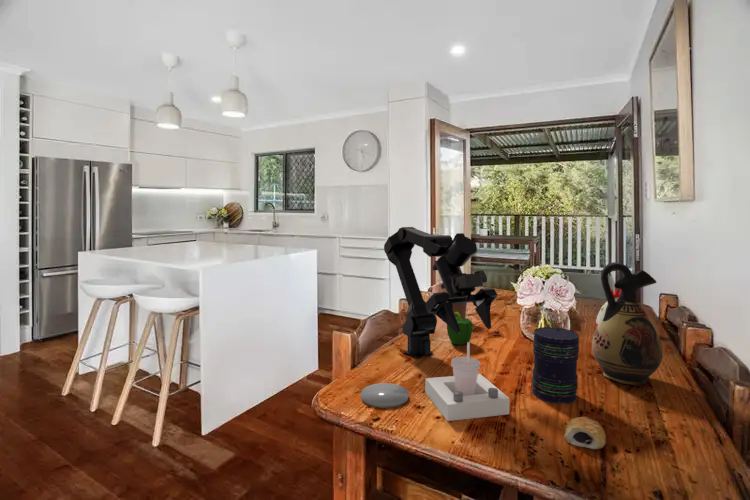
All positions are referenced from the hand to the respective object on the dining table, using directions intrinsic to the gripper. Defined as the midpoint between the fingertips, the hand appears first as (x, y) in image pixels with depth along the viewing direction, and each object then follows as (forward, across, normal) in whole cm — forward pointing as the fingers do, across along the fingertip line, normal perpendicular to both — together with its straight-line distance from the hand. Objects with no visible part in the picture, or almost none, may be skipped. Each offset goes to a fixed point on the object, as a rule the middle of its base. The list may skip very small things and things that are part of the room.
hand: (474, 330), depth 101 cm
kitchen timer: (-2, +81, +25) cm, 85 cm away
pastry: (+29, +5, -12) cm, 32 cm away
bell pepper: (-8, +18, +33) cm, 38 cm away
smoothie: (+15, -7, +4) cm, 17 cm away
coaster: (+8, -22, +12) cm, 27 cm away
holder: (+15, -7, +4) cm, 17 cm away
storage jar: (+18, +14, 0) cm, 23 cm away
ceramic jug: (+18, +38, 0) cm, 43 cm away
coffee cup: (-22, +32, +50) cm, 64 cm away
